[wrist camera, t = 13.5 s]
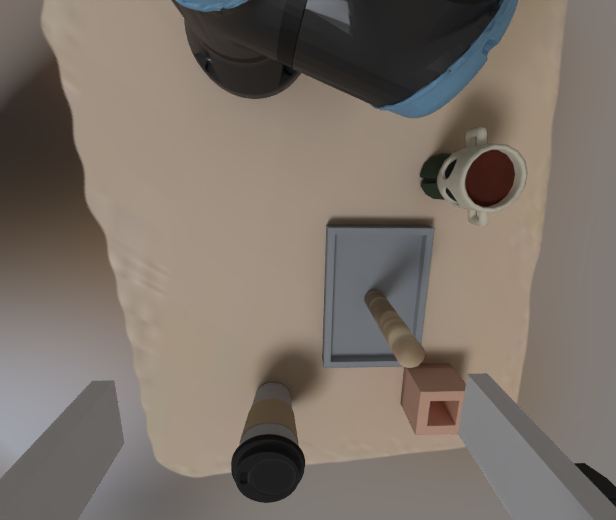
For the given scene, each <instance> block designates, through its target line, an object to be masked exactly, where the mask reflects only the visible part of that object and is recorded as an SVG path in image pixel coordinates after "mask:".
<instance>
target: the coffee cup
mask: <svg viewBox="0 0 616 520" xmlns="http://www.w3.org/2000/svg"><path fill="white" fill-rule="evenodd" d="M231 467H232V469H231V470H232V476H233V478H234V481H235V482H236V485H237V487H238V489H239V490H240V492H241V493H242V494H243V495H245V496H246V497H247V498H249V499H251V500H254V501H258V502H264V503H268V502H276V501H279V500H281V499H284V498H286V497H287V496H289V495H290V494H291V493H292V492H293V491H294V490H295V489H296V487H297V485H298V483H299V482H300V480H301V479H302V476H303V473H304V468H305V458H304V454H303V452H302V450H301V449H300V447H299V446H298V438H297V431H296V425H295V418H294V413H293V410H292V405H291V398H290V393H289V391H288V389H287V388H286V387H285V386H284V385H282V384H280V383H267V384H264V385H262V386H261V387H260V388H259V389H258V390H257V392H256V395H255V398H254V401H253V404H252V407H251V409H250V411H249V414H248V417H247V420H246V423H245V427H244V430H243V433H242V436H241V440H240V446H239V447H238V448H237V449H236V451H235V452H234V454H233V457H232V462H231Z"/></svg>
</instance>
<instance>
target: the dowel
mask: <svg viewBox="0 0 616 520" xmlns="http://www.w3.org/2000/svg"><path fill="white" fill-rule="evenodd" d="M364 301H365V304H366V305H367V307H368V309H369V311H370V312H371V314H372V316H373V318H374V320H375V321H376V323H377V325H378V327H379V328H380V330H381V332H382V334H383V336H384V337H385V339H386V341H387V343H388V344H389V346H390V348H391V350H392V352H393V353H394V355H395V357H396V359H397V360H398V362H399V364H400V365H402V366H403V367H406V368H413V367H416V366H418V365H419V364H421V363H422V361H423V360H424V357H425V350H424V348H423V347H422V345H421V344H420V343H419V341H418V340H417V339H416V337H415V336H414V335H413V333H412V332H411V331H410V329H409V328H408V327H407V325H406V324H405V323H404V321H403V320H402V319H401V317H400V316H399V315H398V313H397V312H396V311H395V309H394V308H393V307H392V305H391V304H390V303H389V301H388V300H387V299H386V297H385V296H384V295H383V293H382V292H381V291H380V290H378V289H372V290H369V291H368V292H367V293H366V294H365V297H364Z"/></svg>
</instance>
